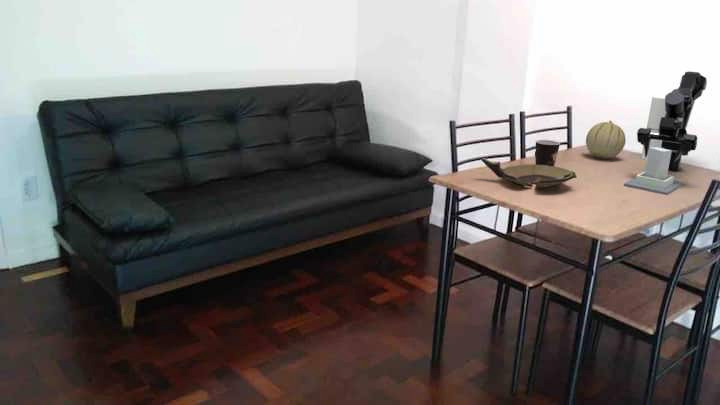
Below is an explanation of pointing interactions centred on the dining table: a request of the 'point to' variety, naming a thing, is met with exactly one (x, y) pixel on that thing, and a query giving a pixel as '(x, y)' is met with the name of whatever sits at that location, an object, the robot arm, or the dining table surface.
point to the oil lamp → (532, 174)
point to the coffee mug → (546, 152)
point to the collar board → (654, 184)
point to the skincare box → (657, 163)
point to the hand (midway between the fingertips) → (659, 158)
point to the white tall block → (655, 120)
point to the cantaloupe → (605, 140)
